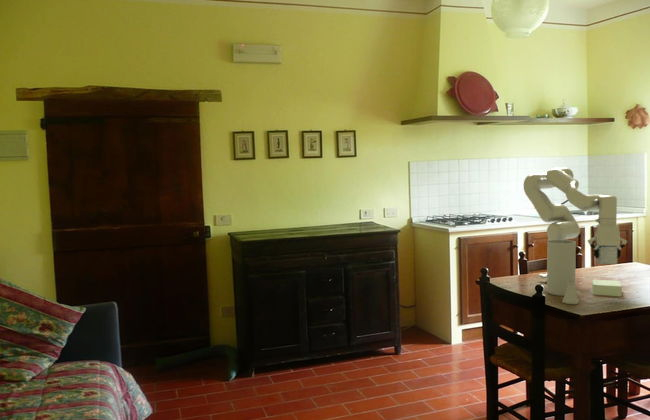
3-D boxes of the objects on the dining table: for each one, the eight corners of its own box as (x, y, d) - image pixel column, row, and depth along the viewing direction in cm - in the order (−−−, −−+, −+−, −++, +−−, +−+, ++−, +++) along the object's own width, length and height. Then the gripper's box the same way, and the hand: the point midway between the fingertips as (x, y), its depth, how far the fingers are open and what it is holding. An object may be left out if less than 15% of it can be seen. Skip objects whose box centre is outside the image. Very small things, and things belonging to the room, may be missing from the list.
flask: (564, 300, 259) (564, 278, 258) (581, 302, 254) (581, 280, 254) (559, 303, 253) (559, 281, 252) (576, 305, 249) (577, 283, 248)
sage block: (592, 295, 268) (593, 284, 267) (592, 289, 279) (592, 279, 278) (621, 297, 263) (621, 286, 262) (619, 291, 274) (619, 281, 273)
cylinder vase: (550, 296, 266) (551, 243, 264) (544, 290, 279) (544, 239, 276) (578, 296, 265) (579, 243, 262) (570, 290, 277) (571, 239, 275)
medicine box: (612, 262, 272) (612, 244, 271) (617, 264, 267) (617, 245, 267) (596, 262, 272) (596, 244, 271) (601, 264, 267) (601, 246, 266)
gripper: (589, 222, 266) (589, 259, 268) (629, 222, 262) (629, 259, 264) (585, 220, 273) (585, 256, 275) (625, 220, 269) (624, 256, 271)
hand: (607, 257), depth 269 cm, fingers closed on medicine box, 8 cm apart
